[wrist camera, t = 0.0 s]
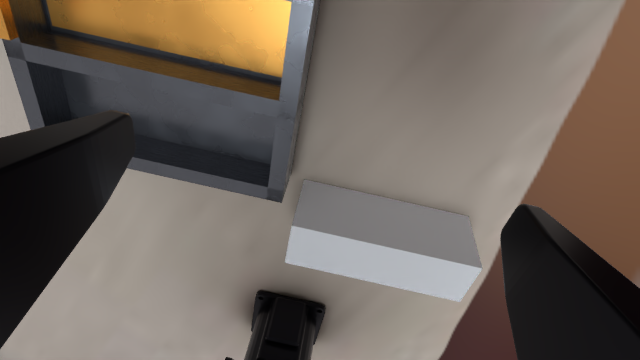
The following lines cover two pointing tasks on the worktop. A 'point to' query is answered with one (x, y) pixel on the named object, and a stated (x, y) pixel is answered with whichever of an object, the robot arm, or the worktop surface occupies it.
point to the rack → (173, 80)
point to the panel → (383, 241)
